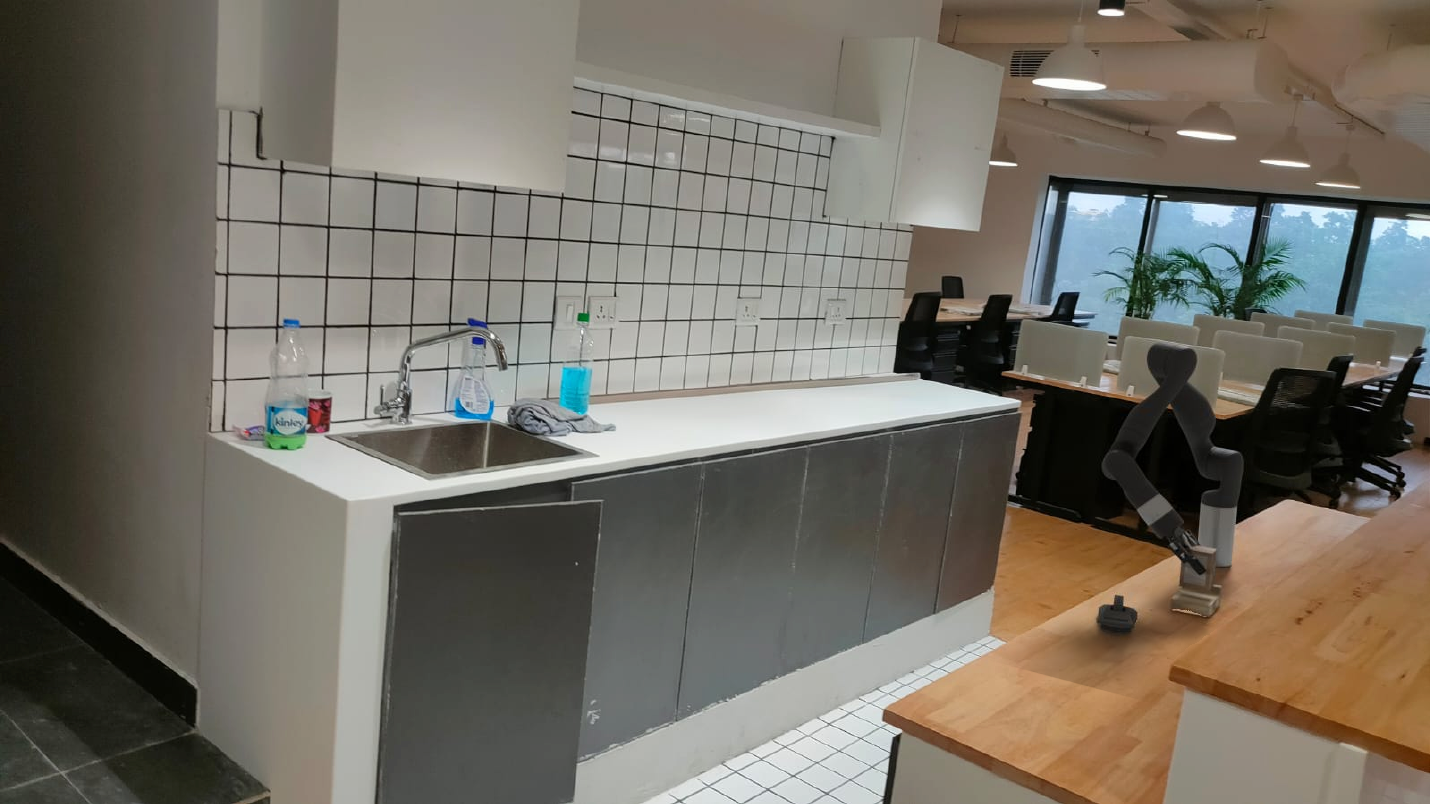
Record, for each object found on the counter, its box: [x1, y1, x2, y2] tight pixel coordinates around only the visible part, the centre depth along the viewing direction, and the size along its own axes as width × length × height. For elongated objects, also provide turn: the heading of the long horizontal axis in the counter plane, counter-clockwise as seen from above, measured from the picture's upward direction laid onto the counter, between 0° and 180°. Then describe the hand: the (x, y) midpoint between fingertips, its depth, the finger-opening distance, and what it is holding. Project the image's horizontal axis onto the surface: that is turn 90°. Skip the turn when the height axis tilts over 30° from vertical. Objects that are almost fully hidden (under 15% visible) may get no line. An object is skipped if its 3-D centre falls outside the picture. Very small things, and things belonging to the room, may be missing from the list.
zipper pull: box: [1096, 594, 1139, 635], centre depth 255 cm, size 9×7×25 cm
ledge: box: [1169, 584, 1223, 618], centre depth 270 cm, size 12×9×5 cm
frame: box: [1178, 545, 1217, 592], centre depth 269 cm, size 5×7×10 cm
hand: (1205, 570), depth 268 cm, fingers closed on frame, 5 cm apart
